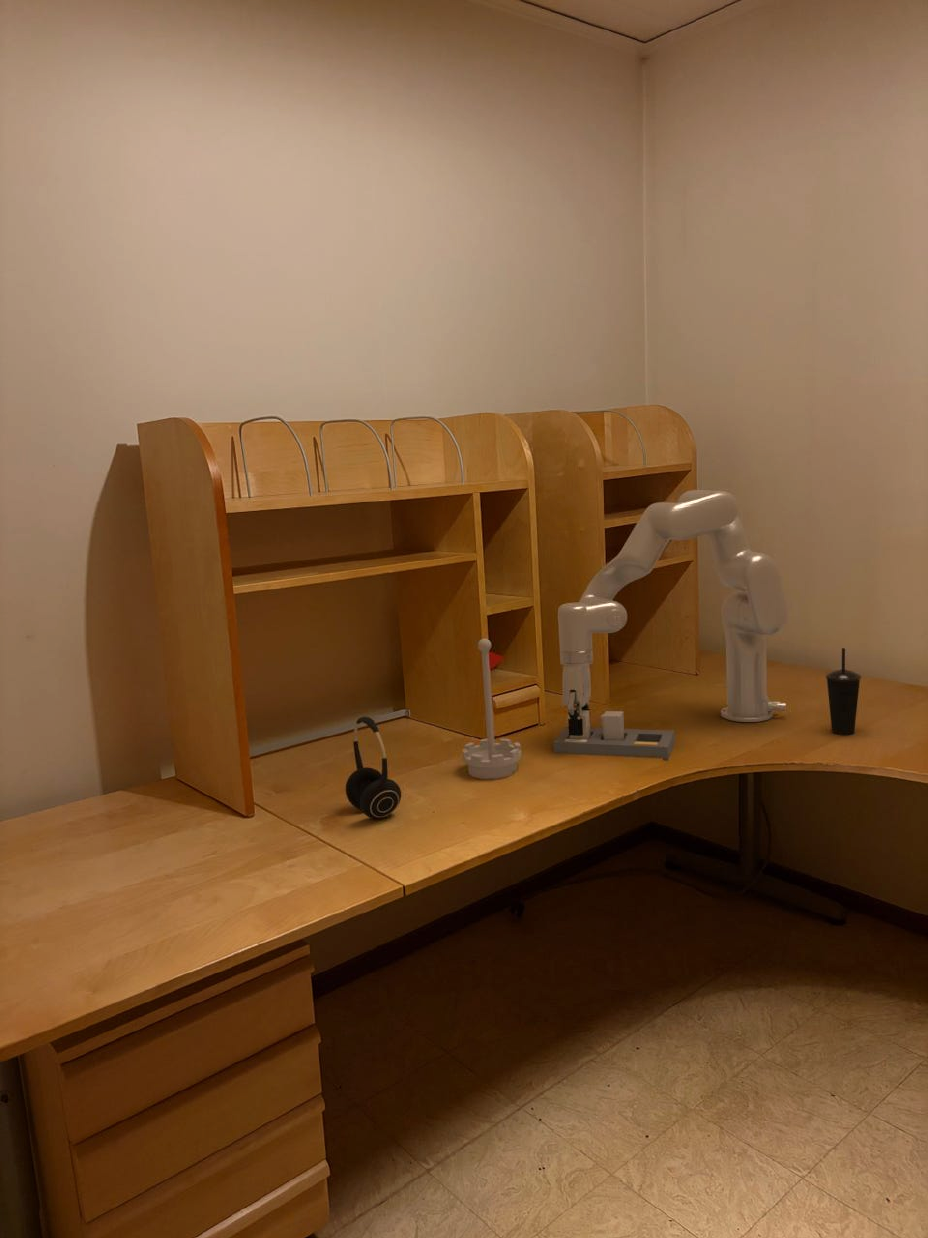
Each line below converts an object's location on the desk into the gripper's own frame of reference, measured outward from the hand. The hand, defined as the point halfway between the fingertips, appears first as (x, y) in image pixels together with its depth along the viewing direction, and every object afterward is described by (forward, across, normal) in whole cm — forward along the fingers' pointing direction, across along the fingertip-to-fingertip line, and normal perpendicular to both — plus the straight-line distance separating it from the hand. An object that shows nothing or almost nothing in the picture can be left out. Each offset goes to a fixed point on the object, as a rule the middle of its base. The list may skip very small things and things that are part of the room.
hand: (579, 729), depth 218 cm
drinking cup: (+5, -19, +58) cm, 61 cm away
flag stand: (+5, +18, -16) cm, 25 cm away
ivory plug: (+4, 0, 0) cm, 4 cm away
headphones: (+5, +46, -32) cm, 56 cm away
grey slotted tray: (+4, 0, +8) cm, 9 cm away
